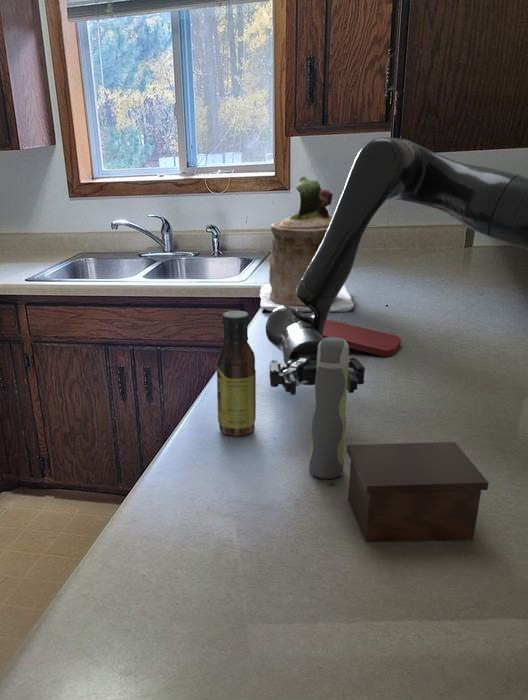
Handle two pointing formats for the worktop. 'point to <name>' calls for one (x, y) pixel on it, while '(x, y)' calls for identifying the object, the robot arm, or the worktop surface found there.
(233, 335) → the sauce bottle
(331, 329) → the red bent slab
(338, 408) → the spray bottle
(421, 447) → the box
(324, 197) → the cookie jar
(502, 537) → the worktop surface
